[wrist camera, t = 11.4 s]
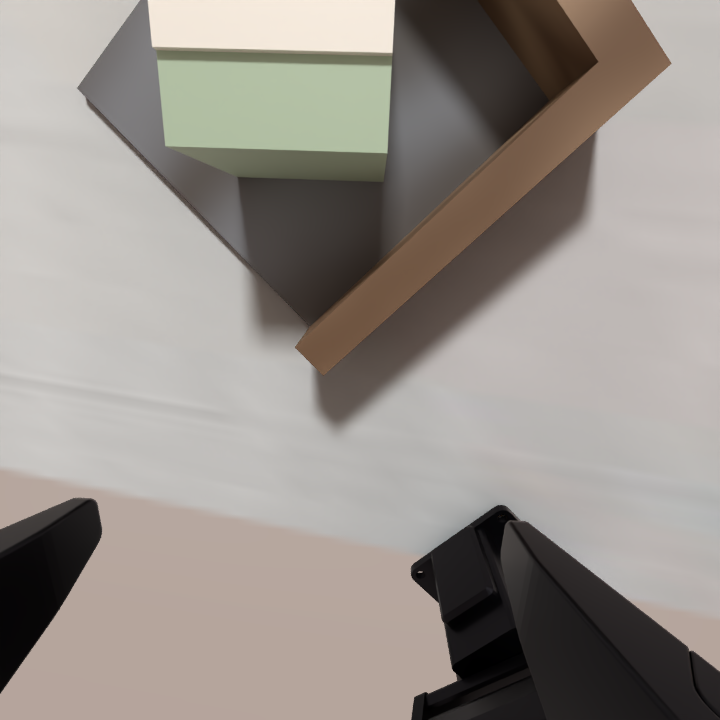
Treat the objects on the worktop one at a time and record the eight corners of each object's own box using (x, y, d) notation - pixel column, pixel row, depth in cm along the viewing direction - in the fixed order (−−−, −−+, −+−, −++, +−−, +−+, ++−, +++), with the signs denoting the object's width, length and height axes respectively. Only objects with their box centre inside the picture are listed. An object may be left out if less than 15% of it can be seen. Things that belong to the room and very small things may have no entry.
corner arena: (600, 105, 16) (671, 63, 12) (333, 347, 19) (323, 375, 15) (343, -266, 13) (330, -472, 9) (84, 91, 16) (-5, 47, 13)
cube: (392, 3, 15) (402, -152, 9) (383, 182, 17) (387, 151, 11) (229, -1, 15) (133, -155, 9) (237, 177, 17) (161, 144, 11)
